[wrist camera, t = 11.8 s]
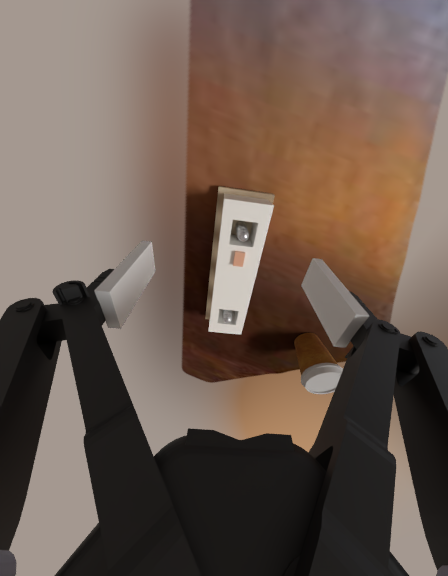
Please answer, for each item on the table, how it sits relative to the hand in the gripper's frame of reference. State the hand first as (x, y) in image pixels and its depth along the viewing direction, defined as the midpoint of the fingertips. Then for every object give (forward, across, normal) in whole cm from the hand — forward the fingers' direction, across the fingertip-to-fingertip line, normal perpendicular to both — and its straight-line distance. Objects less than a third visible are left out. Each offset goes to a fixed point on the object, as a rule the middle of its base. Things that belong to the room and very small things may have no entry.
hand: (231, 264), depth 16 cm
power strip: (+19, +2, -11) cm, 22 cm away
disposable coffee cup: (+20, +24, -32) cm, 45 cm away
